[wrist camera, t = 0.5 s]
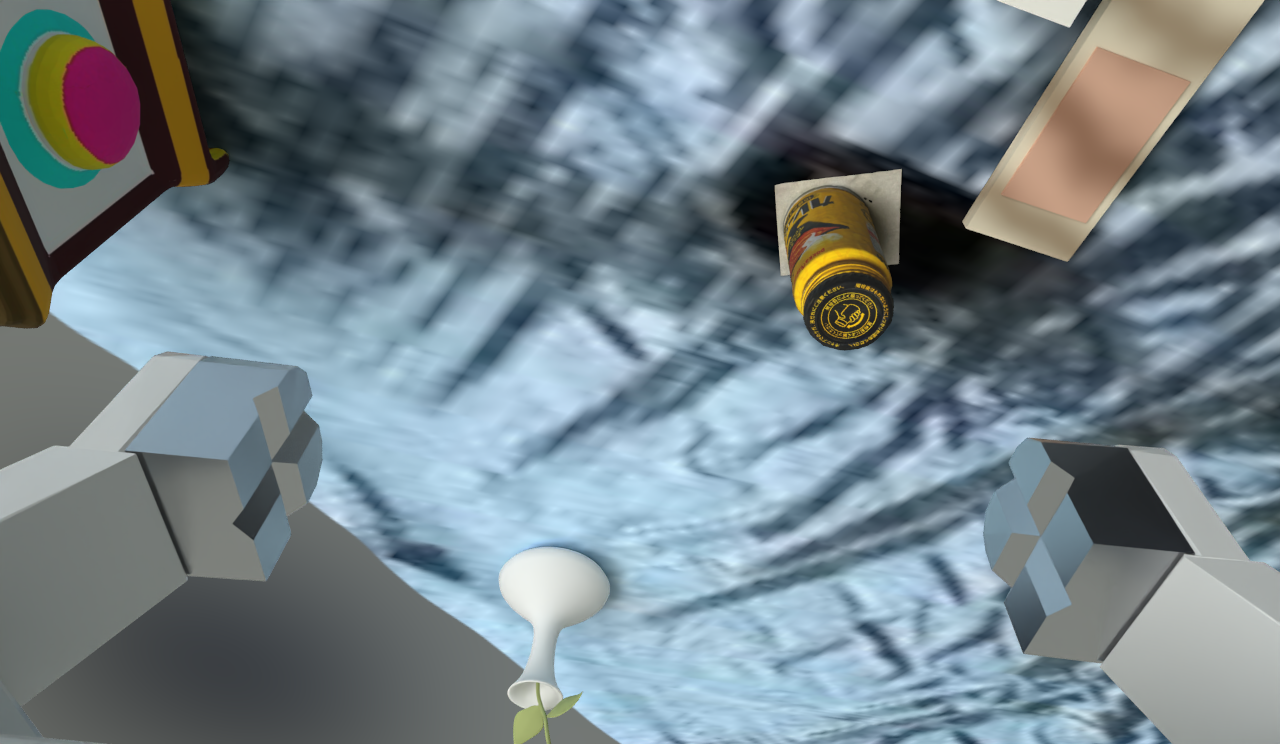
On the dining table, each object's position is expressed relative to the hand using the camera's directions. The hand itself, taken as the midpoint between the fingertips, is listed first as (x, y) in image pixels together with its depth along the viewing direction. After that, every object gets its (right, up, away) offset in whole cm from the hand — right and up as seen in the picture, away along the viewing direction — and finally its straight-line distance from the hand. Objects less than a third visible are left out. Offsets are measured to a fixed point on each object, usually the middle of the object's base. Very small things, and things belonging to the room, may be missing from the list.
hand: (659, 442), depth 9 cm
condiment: (+14, +11, +48) cm, 51 cm away
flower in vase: (-8, -19, +73) cm, 76 cm away
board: (+31, +22, +38) cm, 54 cm away
